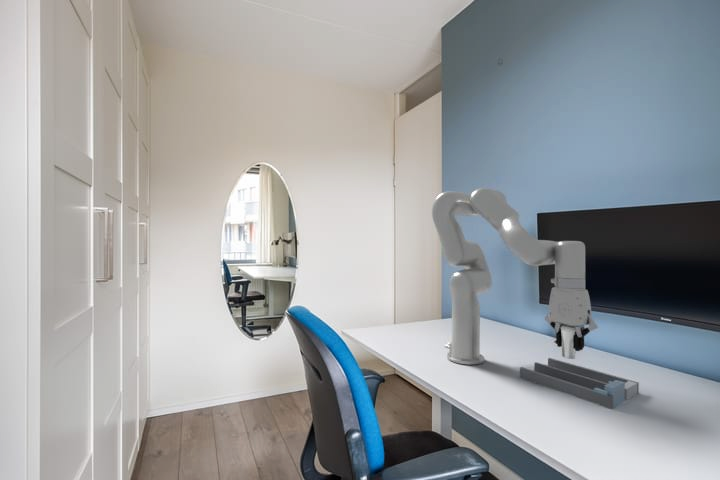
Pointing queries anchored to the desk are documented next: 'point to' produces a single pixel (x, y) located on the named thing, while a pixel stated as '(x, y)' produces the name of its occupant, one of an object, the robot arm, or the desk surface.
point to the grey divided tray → (582, 382)
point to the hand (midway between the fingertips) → (569, 347)
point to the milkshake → (568, 341)
